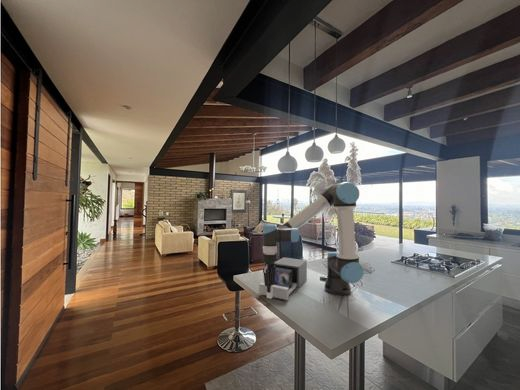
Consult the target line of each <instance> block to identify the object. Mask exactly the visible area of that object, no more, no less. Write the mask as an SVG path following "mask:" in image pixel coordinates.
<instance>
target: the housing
mask: <svg viewBox="0 0 520 390" xmlns="http://www.w3.org/2000/svg"><path fill="white" fill-rule="evenodd" d="M307 262H308V261H307V260H306V259H300V258H292V257H291V258H290V257H282V258H280V259H278V260H276V261H275V262H274V264H276V268H283V269H290V270H292V283H297V287H296V288H295V289H296V290H299V289H300V288H301V287H302V286H303V285H304V283H306V282H307V280H308V276H307V275H308V272H307V271H308V267H307V266H308V264H307Z"/></svg>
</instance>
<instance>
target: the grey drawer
mask: <svg viewBox="0 0 520 390" xmlns="http://www.w3.org/2000/svg"><path fill="white" fill-rule="evenodd" d="M258 286H259V287H258V294H259V295H263V296H266V297H267V286H265V283H264V282H260V283H259V284H258ZM296 287H297V283H292V287H291V288H290V289H289V288H288V287H283V286H277V285H273V298H275V299H276V298H277V299H281V300H285V301H288V300H289V298H290V294H291V293H292V292H293V291H294V290H295V289H296Z"/></svg>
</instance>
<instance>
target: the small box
mask: <svg viewBox="0 0 520 390" xmlns="http://www.w3.org/2000/svg"><path fill="white" fill-rule="evenodd" d="M274 285H277V286H283V287H288V288H289V289H290V288H291V287H292V270H290V269H283V268H276V270H275V281H274Z"/></svg>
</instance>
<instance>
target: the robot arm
mask: <svg viewBox="0 0 520 390" xmlns="http://www.w3.org/2000/svg"><path fill="white" fill-rule="evenodd" d="M359 198H360V189H359V187H358V186H357V185H356V184H354V183H353V182H349V181H343V182H339V183H333V184H332V185H331V186H329V187H327V189H326V190H324V191H323V192H321V193H320V194H319V195H318V198H316V199H315V200H313V202H311V203H309V204H308V205H307V206H306V207H305V208H303V209H302V210H301V211H299V212H298V213H296V214H295V215H294V216H292V217H291V218H290V219H288V220H287V221H286V222H285V223H283V224H281V225H280V224H279V226H277V224H275V223H274V224H271V223H270V224H269V223H268V224H267V223H266V224H264V225H263V227H262V261H263V262H264V268H262V273H263V281H264V282H263V283H265V286H267V296H266V298H267V299H273V298H274V297H273V285H274V281H275V270H276V264H274V263H275V262H276V261H278V260H277V259H278V254H277V253H278V248H277V247H278V243H297V242H299V240H300V231H299V229H300V228H301V227H303V226H305V224H307V223H308V222H310V220H311V221H312V219H314V218H315V217H316V216H317V215H319V214H320V213H321V212H323V211H324V210H325V209H327V208H331V207H332V206H333V208H334V209H335V210H336V217H337V220H336V221H337V236H338V237H337V238H338V240H337V241H338V251H331V252H330V251H329V252H328V253H327V256H326V258H327V259H326V260H327V261H326V263H327V266H326V268H327V277H326V280H325V282H324V290H325V291H326V292H328V293H329V294H332V295H337V296H348V295H350V294H351V292H352V287H351V284H356V283H358V282H360V280H362V279H363V277H364V274H365V273H364V268H363V266H362V265H361V263H360V256H359V255H358V254H357V252H356V236H355V235H356V234H355V217H354V216H355V215H354V209H355V208H356V207H357V201H358V200H359Z"/></svg>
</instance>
